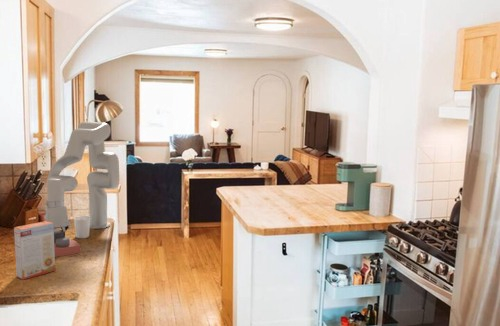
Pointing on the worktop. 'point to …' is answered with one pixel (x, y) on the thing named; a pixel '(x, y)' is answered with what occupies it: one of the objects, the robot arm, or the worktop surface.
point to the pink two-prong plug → (66, 247)
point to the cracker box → (34, 249)
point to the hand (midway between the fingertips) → (56, 240)
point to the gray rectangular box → (58, 234)
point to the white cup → (82, 226)
